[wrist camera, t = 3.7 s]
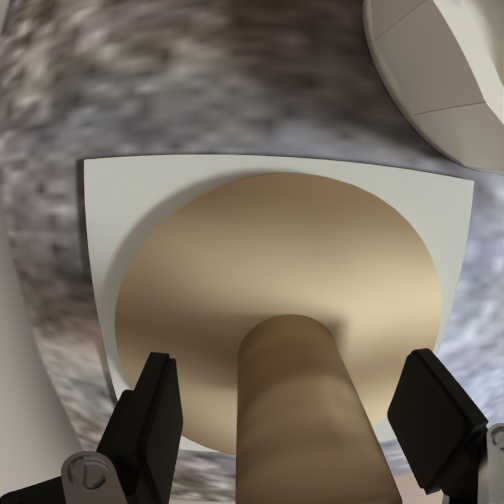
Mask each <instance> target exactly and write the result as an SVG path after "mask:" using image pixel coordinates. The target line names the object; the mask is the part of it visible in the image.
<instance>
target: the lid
mask: <svg viewBox="0 0 504 504" xmlns="http://www.w3.org/2000/svg"><path fill="white" fill-rule="evenodd" d="M440 319H441V291H440V285H439V279H438V275H437V272H436V268H435V265H434V262H433V260H432V257H431V255H430V253H429V251H428V249H427V247H426V245H425V243H424V242H423V240H422V238H421V237H420V236H419V234H418V233H417V232H416V230H415V229H414V228H413V226H412V225H411V224H410V223H409V222H408V221H407V220H406V219H405V218H404V217H403V216H402V215H401V214H400V213H399V212H398V211H397V210H396V209H395V208H393V207H392V206H390V205H389V204H388V203H386V202H385V201H383V200H382V199H380V198H379V197H377V196H376V195H374V194H372V193H370V192H368V191H366V190H363V189H361V188H359V187H357V186H355V185H352V184H349V183H346V182H342V181H339V180H336V179H332V178H329V177H324V176H318V175H311V174H303V173H270V174H263V175H257V176H250V177H245V178H242V179H239V180H235V181H232V182H229V183H226V184H222V185H220V186H218V187H216V188H214V189H211V190H209V191H207V192H205V193H203V194H201V195H199V196H197V197H196V198H194V199H193V200H191V201H190V202H188V203H187V204H185V205H184V206H182V207H181V208H179V209H178V210H176V211H175V212H174V213H172V214H171V215H170V216H169V217H168V218H167V219H166V220H165V221H164V222H162V223H161V224H160V225H159V226H158V227H157V228H156V229H155V230H154V231H153V232H152V233H151V234H150V236H149V237H148V238H147V239H146V241H145V242H144V243H143V244H142V246H141V247H140V248H139V249H138V251H137V253H136V254H135V256H134V258H133V260H132V261H131V263H130V265H129V267H128V268H127V271H126V273H125V276H124V278H123V281H122V284H121V286H120V289H119V293H118V298H117V303H116V308H115V328H114V329H115V338H116V346H117V351H118V354H119V358H120V362H121V365H122V367H123V370H124V372H125V374H126V377H127V379H128V381H129V383H130V384H131V386H132V388H133V389H134V388H135V386H136V384H137V381H138V379H139V377H140V375H141V372H142V370H143V368H144V365H145V363H146V361H147V359H148V356H149V354H150V352H159V353H168V354H169V355H170V358H175V359H176V366H177V374H178V383H179V391H180V398H181V406H182V413H183V429H182V434H181V435H182V436H183V437H185V438H187V439H189V440H190V441H193V442H195V443H197V444H199V445H202V446H204V447H206V448H209V449H212V450H216V451H219V452H222V453H226V454H231V455H236V504H402V498H401V496H400V493H399V491H398V488H397V486H396V483H395V481H394V478H393V476H392V473H391V471H390V468H389V466H388V463H387V461H386V459H385V456H384V454H383V451H382V449H381V447H380V444H379V442H378V439H377V437H376V435H375V432H374V430H373V428H372V427H373V426H374V425H376V424H377V423H378V422H380V421H381V420H382V419H384V418H385V417H386V416H387V411H388V408H389V406H390V403H391V401H392V398H393V395H394V393H395V390H396V387H397V384H398V381H399V379H400V376H401V373H402V370H403V367H404V364H405V360H406V358H407V356H408V355H409V354H411V352H412V351H413V350H415V349H423V348H429V349H430V350H431V351H432V352H433V350H434V347H435V344H436V340H437V336H438V332H439V327H440Z"/></svg>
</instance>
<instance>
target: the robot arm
mask: <svg viewBox="0 0 504 504" xmlns="http://www.w3.org/2000/svg"><path fill="white" fill-rule="evenodd" d="M387 418H388V421H389V423H390V425H391V427H392V429H393V431H394V434H395V436H396V438H397V440H398V442H399V444H400V446H401V448H402V450H403V452H404V455H405V457H406V459H407V461H408V463H409V465H410V467H411V470H412V472H413V474H414V476H415V478H416V480H417V483H418V485H419V487H420V488H424V490H425V492H426V495H428V494H431V493H434V492H437V491H440V490H441V489H442V491H443V493H444V494H443V501H442V504H504V423H497V424H495V425H492V426H491V427H490V428H489V429H487V427H486V425H487V423H488V422H489V421H488V420H487V419H486V417H485V416H484V415H483V413H482V412H481V411H480V410H479V408H478V407H477V406H476V404H475V403H474V402H473V401H472V399H471V398H470V397H469V396H468V394H467V393H466V392H465V391H464V389H463V388H462V387H461V386H460V384H459V383H458V382H457V381H456V380H455V378H454V377H453V376H452V375H451V373H450V372H449V371H448V370H447V369H446V367H445V366H444V365H443V364H442V363H441V361H440V360H439V359H438V358H437V357H436V356H435V354H434V353H433V352H432V351H431V350H430V349H429V348H423V349H415V350H413V351H412V352H411V354H409V355H408V356H407V358H406V360H405V364H404V367H403V370H402V373H401V376H400V379H399V381H398V384H397V387H396V390H395V393H394V395H393V398H392V401H391V403H390V406H389V408H388V411H387ZM182 429H183V413H182V406H181V398H180V391H179V383H178V374H177V366H176V359H175V358H170V355H169V354H168V353H159V352H150V354H149V356H148V359H147V361H146V363H145V365H144V368H143V370H142V372H141V375H140V377H139V379H138V381H137V384H136V386H135V388H134V390H128V389H125V390H124V391H123V392H122V394H121V396H120V398H119V400H118V402H117V405H116V407H115V409H114V411H113V413H112V416H111V418H110V420H109V422H108V425H107V427H106V429H105V431H104V434H103V436H102V438H101V441H100V443H99V445H98V448H97V450H96V452H94V451H82V452H78V453H75V454H73V455H71V456H70V457H69V458H67V460H66V461H65V462H64V463H63V466H62V468H61V476H59V477H56V478H53V479H51V480H47V481H45V482H42V483H38V484H36V485H32V486H29V487H26V488H23V489H19V490H16V491H12V492H9V493H7V494H5V495H3V496H2V497H0V504H169V498H170V492H171V487H172V481H173V476H174V471H175V465H176V460H177V455H178V450H179V444H180V439H181V434H182Z"/></svg>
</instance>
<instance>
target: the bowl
mask: <svg viewBox="0 0 504 504" xmlns="http://www.w3.org/2000/svg"><path fill="white" fill-rule="evenodd" d="M362 18H363V25H364V33H365V37H366V40H367V44H368V48H369V51H370V54H371V57H372V59H373V62H374V65H375V67H376V69H377V71H378V73H379V76H380V78H381V80H382V82H383V84H384V86H385V87H386V89H387V91H388V92H389V94H390V96H391V98H392V99H393V101H394V102H395V104H396V105H397V107H398V108H399V110H400V111H401V113H402V114H403V115H404V117H405V118H406V119H407V120H408V121H409V123H410V124H411V125H412V126H413V128H414V129H415V130H416V131H417V132H418V133H419V134H420V135H421V136H422V137H423V138H424V139H425V140H426V141H427V142H428V143H429V144H430V145H431V146H433V147H434V148H435V149H436V150H437V151H438V152H440V153H441V154H443V155H444V156H446V157H447V158H449V159H450V160H452V161H454V162H456V163H458V164H460V165H462V166H464V167H467V168H470V169H473V170H478V171H485V172H491V173H495V174H499V175H502V176H504V0H363V4H362Z"/></svg>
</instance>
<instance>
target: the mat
mask: <svg viewBox="0 0 504 504" xmlns="http://www.w3.org/2000/svg"><path fill="white" fill-rule="evenodd" d="M270 173H303V174H311V175H318V176H324V177H329V178H332V179H336V180H339V181H342V182H346V183H349V184H352V185H355V186H357V187H359V188H361V189H363V190H366V191H368V192H370V193H372V194H374V195H376V196H377V197H379V198H380V199H382V200H383V201H385V202H386V203H388V204H389V205H390V206H392V207H393V208H395V209H396V210H397V211H398V212H399V213H400V214H401V215H402V216H403V217H404V218H405V219H406V220H407V221H408V222H409V223H410V224H411V225H412V226H413V228H414V229H415V230H416V232H417V233H418V234H419V236H420V237H421V238H422V240H423V242H424V243H425V245H426V247H427V249H428V251H429V253H430V255H431V257H432V260H433V262H434V265H435V268H436V272H437V275H438V279H439V285H440V291H441V319H440V327H439V332H438V336H437V340H436V344H435V347H434V350H433V353H434V354H435V356H437V354H438V351H439V348H440V345H441V342H442V339H443V336H444V332H445V329H446V326H447V323H448V319H449V316H450V312H451V309H452V305H453V301H454V297H455V293H456V289H457V285H458V281H459V277H460V272H461V267H462V263H463V258H464V252H465V247H466V241H467V235H468V229H469V222H470V215H471V207H472V199H473V189H474V181H471V180H466V179H461V178H455V177H450V176H445V175H439V174H433V173H427V172H421V171H415V170H408V169H401V168H394V167H387V166H379V165H371V164H362V163H353V162H343V161H333V160H321V159H308V158H294V157H276V156H253V155H153V156H131V157H114V158H100V159H87V160H84V190H85V212H86V226H87V238H88V249H89V258H90V267H91V275H92V282H93V289H94V295H95V302H96V308H97V314H98V319H99V324H100V330H101V335H102V339H103V344H104V349H105V353H106V358H107V362H108V366H109V370H110V374H111V378H112V382H113V386H114V389H115V393H116V397H117V400H119V398H120V396H121V394H122V392H123V391H124V390H125V389H128V390H134V389H133V388H132V386H131V384H130V383H129V381H128V379H127V377H126V374H125V372H124V370H123V367H122V365H121V362H120V358H119V354H118V351H117V346H116V338H115V329H114V328H115V308H116V303H117V298H118V293H119V289H120V286H121V284H122V281H123V278H124V276H125V273H126V271H127V268H128V267H129V265H130V263H131V261H132V260H133V258H134V256H135V254H136V253H137V251H138V249H139V248H140V247H141V246H142V244H143V243H144V242H145V241H146V239H147V238H148V237H149V236H150V234H151V233H152V232H153V231H154V230H155V229H156V228H157V227H158V226H159V225H160V224H161V223H162V222H164V221H165V220H166V219H167V218H168V217H169V216H170V215H171V214H172V213H174V212H175V211H176V210H178V209H179V208H181V207H182V206H184V205H185V204H187V203H188V202H190V201H191V200H193V199H194V198H196V197H197V196H199V195H201V194H203V193H205V192H207V191H209V190H211V189H214V188H216V187H218V186H220V185H222V184H226V183H229V182H232V181H235V180H239V179H242V178H245V177H250V176H257V175H263V174H270ZM372 428H373V430H374V432H375V435H376V437H377V439H378V442H382V441H388V440H393V439H397V438H396V436H395V434H394V431H393V429H392V427H391V425H390V423H389V421H388V418H387V416H386V417H385V418H384V419H382V420H381V421H380V422H378V423H377V424H376V425H374V426H373V427H372ZM179 449H184V450H195V451H209V452H219V451H216V450H212V449H209V448H206V447H204V446H202V445H199V444H197V443H195V442H193V441H190V440H189V439H187V438H185V437H183V436H182V435H181V439H180V444H179Z"/></svg>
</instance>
